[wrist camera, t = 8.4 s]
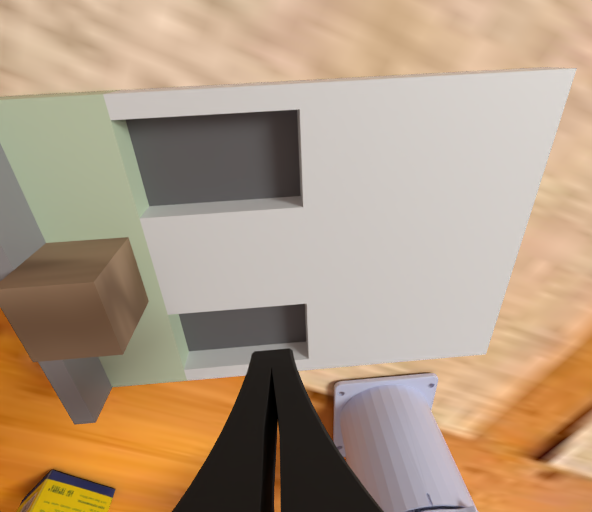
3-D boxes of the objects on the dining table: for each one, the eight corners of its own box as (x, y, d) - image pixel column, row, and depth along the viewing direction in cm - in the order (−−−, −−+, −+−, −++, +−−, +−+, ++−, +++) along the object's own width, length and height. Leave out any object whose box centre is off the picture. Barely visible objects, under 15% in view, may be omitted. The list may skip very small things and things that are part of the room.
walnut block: (148, 301, 19) (123, 354, 16) (75, 307, 19) (33, 362, 16) (128, 237, 17) (93, 282, 14) (46, 242, 17) (-10, 289, 14)
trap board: (470, 333, 25) (508, 384, 21) (105, 365, 24) (74, 424, 20) (544, 67, 17) (629, 70, 13) (-15, 97, 16) (-109, 111, 12)
